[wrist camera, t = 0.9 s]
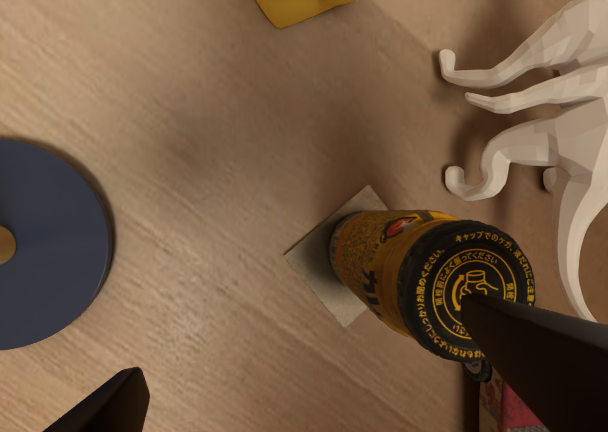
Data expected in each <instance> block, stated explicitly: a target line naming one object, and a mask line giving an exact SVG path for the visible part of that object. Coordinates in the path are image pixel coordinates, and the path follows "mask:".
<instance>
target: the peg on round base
mask: <svg viewBox="0 0 608 432" xmlns="http://www.w3.org/2000/svg"><path fill="white" fill-rule="evenodd" d="M111 255H112V233H111V227H110V222H109V218H108V215H107V212H106V209H105V207H104V204H103V203H102V201H101V199H100V197H99V195H98V193H97V192H96V190H95V189H94V188H93V186H92V185H91V183H90V182H89V181H88V180H87V179H86V178H85V177H84V176H83V175H82V174H81V172H79V171H78V170H77V169H76V168H75V167H73V166H72V165H71V164H70V163H68V162H67V161H65V160H64V159H62V158H61V157H59V156H57V155H55V154H53V153H51V152H49V151H47V150H45V149H42V148H39V147H36V146H33V145H31V144H27V143H23V142H18V141H13V140H7V139H0V350H8V349H14V348H19V347H24V346H27V345H30V344H33V343H36V342H39V341H41V340H43V339H45V338H47V337H50V336H52V335H54V334H55V333H57V332H59V331H60V330H62V329H63V328H65V327H67V326H68V325H70V324H71V323H72V322H73V321H74V320H76V319H77V318H78V317H79V316H80V315H81V314H82V313H83V312H84V311H85V310H86V309H87V308H88V307H89V306H90V304H91V303H92V302H93V300H94V299H95V297H96V296H97V295H98V293H99V291H100V289H101V287H102V285H103V283H104V281H105V278H106V276H107V273H108V270H109V266H110V261H111Z"/></svg>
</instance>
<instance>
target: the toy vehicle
mask: <svg viewBox="0 0 608 432" xmlns="http://www.w3.org/2000/svg"><path fill="white" fill-rule="evenodd" d="M460 363H461V362H460ZM462 365H463V366H462V367H463V368H464V369H465V372H467V373H468V376H471V378H472V379H474V380H475V381H476V380H477V381H481V384H480V399H479V432H550V431H549V430H548V429H547V428H546V427H545V426H544V425H543V424H542V422H541V421H540V420H539V419H538V418H537V417H536V416H535V415H534V414H533V412H532V411H531V410H530V409H529V408H528V407H527V406H526V405H525V404H524V402H523V401H522V400H521V399H520V398H519V397H518V396H517V395H516V393H515V392H514V391H513V390H512V389H511V388H510V387H509V386H508V385H507V383H506V382H505V381H504V380H503V379H502V378H501V376H500V375H499V374H498V373H497V371H496V370H495V369H494V368H493V366H492V365H491V364H490V362H489V361H488V360H487V359H483V360H479V361H475V362H472V363H462Z"/></svg>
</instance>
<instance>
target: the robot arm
mask: <svg viewBox="0 0 608 432" xmlns="http://www.w3.org/2000/svg"><path fill="white" fill-rule="evenodd" d="M461 323H462V326H463V327H464V329H465V331H466V332H467V333H468V335H469V336H470V337H471V338H472V340H473V341H474V342H475V344H476V345H477V346H478V348H479V349H480V350H481V352H482V353H483V354H484V356H485V357H486V358H487V360H488V361H489V362H490V364H491V365H492V366H493V368H494V369H495V370H496V371H497V373H498V374H499V375H500V376H501V378H502V379H503V380H504V381H505V382H506V383H507V385H508V386H509V387H510V388H511V389H512V390H513V391H514V392H515V393H516V395H517V396H518V397H519V398H520V399H521V400H522V401H523V402H524V404H525V405H526V406H527V407H528V408H529V409H530V410H531V411H532V412H533V414H534V415H535V416H536V417H537V418H538V419H539V420H540V421H541V422H542V424H543V425H544V426H545V427H546V428H547V429H548V430H549V431H550V432H608V325H605V324H601V323H597V322H593V321H589V320H585V319H581V318H577V317H573V316H569V315H565V314H561V313H557V312H553V311H549V310H545V309H541V308H537V307H533V306H529V305H525V304H521V303H517V302H513V301H509V300H505V299H501V298H497V297H493V296H489V295H485V294H481V293H477V292H475V293H470V294H465V295H463V296H462V297H461ZM149 400H150V394H149V390H148V387H147V384H146V381H145V378H144V375H143V372H142V370H141V368H139V367H133V368H128V369H124V370H121V371H120V372H118V373H117V374H116V375H114V376H113V377H112V378H111V379H109V380H108V381H107V382H105V383H104V384H103V385H102V386H100V387H99V388H98V389H97V390H95V391H94V392H93V393H91V394H90V395H89V396H88V397H86V398H85V399H84V400H82V401H81V402H80V403H79V404H77V405H76V406H75V407H73V408H72V409H71V410H70V411H68V412H67V413H66V414H64V415H63V416H62V417H61V418H59V419H58V420H57V421H55V422H54V423H53V424H52V425H50V426H49V427H48V428H46V429H45V430H44V431H43V432H142V430H143V425H144V421H145V417H146V413H147V409H148V405H149Z"/></svg>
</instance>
